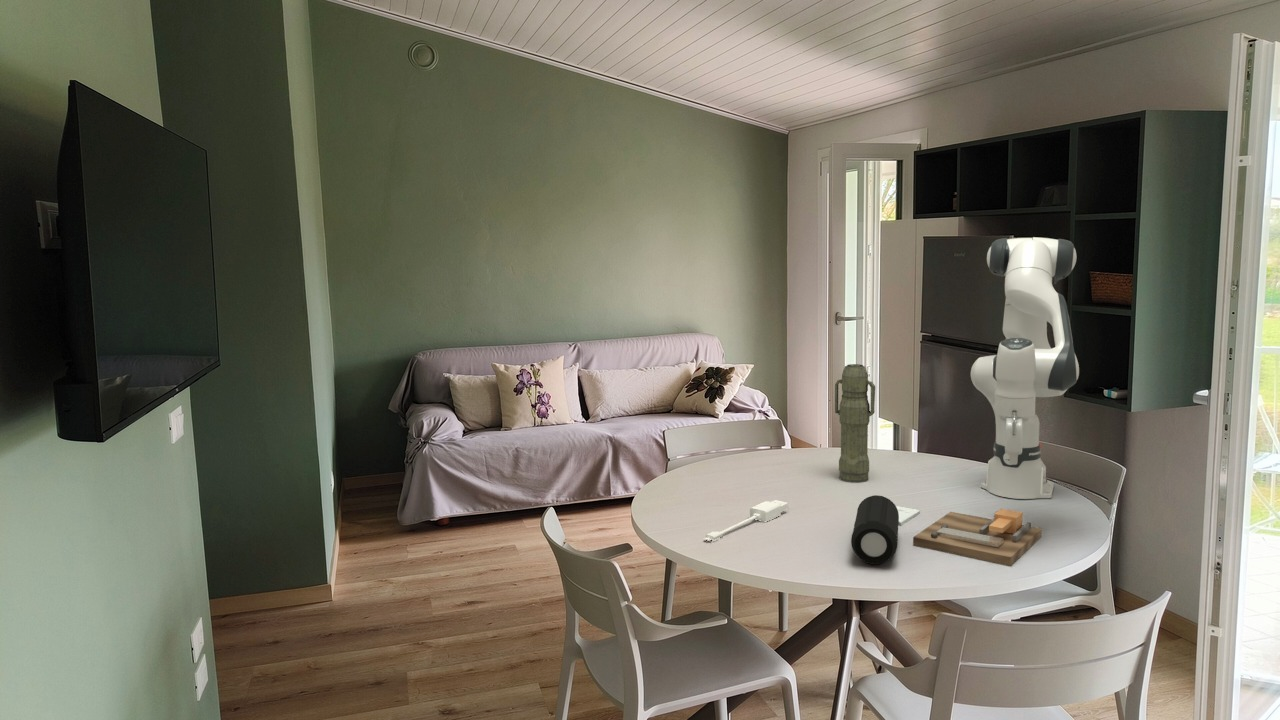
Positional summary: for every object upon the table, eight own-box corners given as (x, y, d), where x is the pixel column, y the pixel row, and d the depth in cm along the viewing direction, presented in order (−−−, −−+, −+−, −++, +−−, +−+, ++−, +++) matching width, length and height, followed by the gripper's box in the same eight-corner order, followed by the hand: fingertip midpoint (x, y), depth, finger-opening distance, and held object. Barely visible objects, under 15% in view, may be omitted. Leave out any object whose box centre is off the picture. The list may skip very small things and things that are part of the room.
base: (950, 519, 216) (950, 505, 215) (1041, 536, 201) (1042, 521, 201) (913, 545, 197) (913, 530, 197) (1010, 566, 183) (1011, 550, 183)
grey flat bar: (942, 531, 201) (942, 527, 201) (1003, 542, 192) (1003, 538, 192) (936, 535, 198) (936, 531, 198) (997, 547, 189) (997, 543, 188)
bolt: (1000, 524, 204) (1001, 508, 203) (1022, 528, 201) (1022, 512, 200) (984, 538, 195) (984, 521, 194) (1006, 542, 192) (1007, 525, 191)
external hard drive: (870, 522, 217) (890, 510, 226) (900, 528, 211) (919, 515, 221) (870, 515, 216) (890, 504, 226) (900, 521, 211) (919, 509, 221)
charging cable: (698, 544, 204) (697, 531, 204) (774, 508, 227) (773, 496, 227) (714, 549, 201) (713, 536, 200) (789, 512, 224) (789, 500, 223)
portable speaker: (857, 529, 210) (857, 491, 208) (898, 533, 207) (899, 493, 205) (850, 566, 186) (850, 523, 184) (896, 570, 182) (897, 526, 181)
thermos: (872, 484, 249) (874, 367, 244) (832, 481, 253) (833, 366, 249) (875, 476, 257) (877, 363, 253) (836, 473, 261) (837, 362, 257)
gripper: (1029, 417, 189) (1027, 476, 191) (1029, 398, 207) (1027, 452, 209) (999, 415, 192) (997, 474, 194) (1001, 397, 210) (1000, 451, 212)
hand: (1013, 462), depth 202 cm, fingers closed
